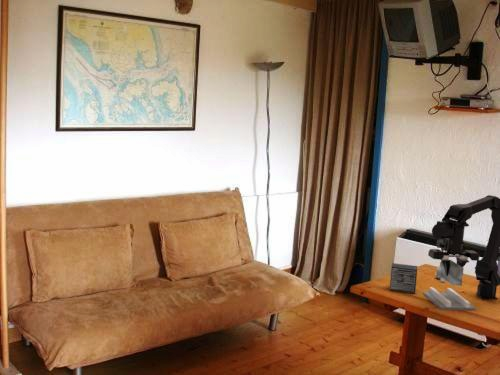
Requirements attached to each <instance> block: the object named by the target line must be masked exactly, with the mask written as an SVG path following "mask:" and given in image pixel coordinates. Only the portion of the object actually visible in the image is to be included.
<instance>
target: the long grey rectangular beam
mask: <svg viewBox="0 0 500 375" xmlns="http://www.w3.org/2000/svg"><path fill="white" fill-rule="evenodd" d="M449 260H450V267H449V273H448V276H446V274H445V270H444V266H443V263H442V267H441V277H442V278H444V279H445V282H448V283H449V284H450V285H452V286H456V287H457V286H458V287H459V286H460V287H462V285H463V279H464V278H463V277H464V270H465V269H464V267H461V266H460V265H458V264H457V262H455V261H453V260H452V259H449Z"/></svg>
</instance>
